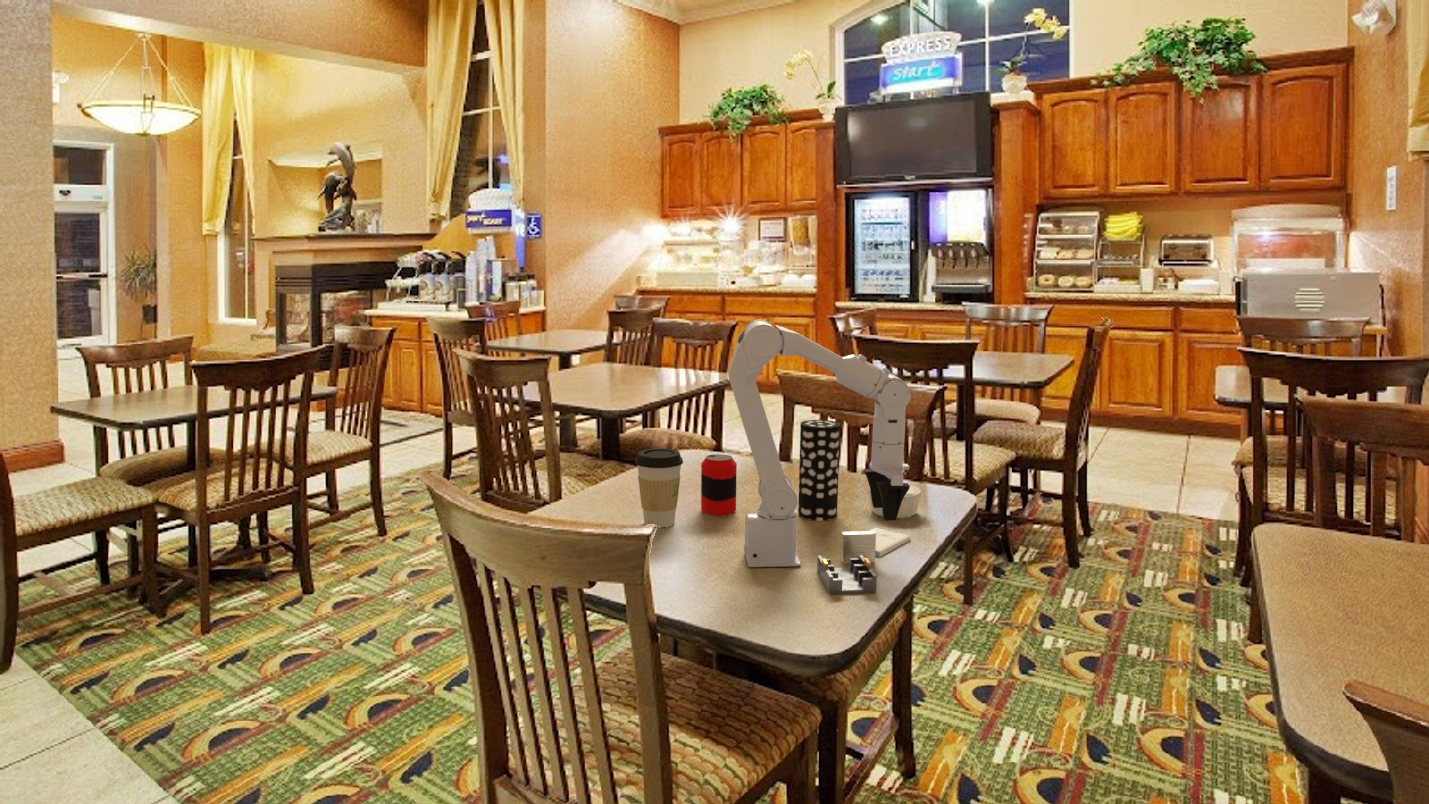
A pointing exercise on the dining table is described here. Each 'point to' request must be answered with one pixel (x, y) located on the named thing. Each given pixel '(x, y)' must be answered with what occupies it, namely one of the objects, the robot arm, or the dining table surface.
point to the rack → (847, 576)
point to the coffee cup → (659, 484)
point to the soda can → (718, 485)
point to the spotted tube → (818, 469)
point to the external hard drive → (888, 540)
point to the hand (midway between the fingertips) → (884, 513)
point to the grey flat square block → (858, 545)
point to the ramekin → (904, 503)
